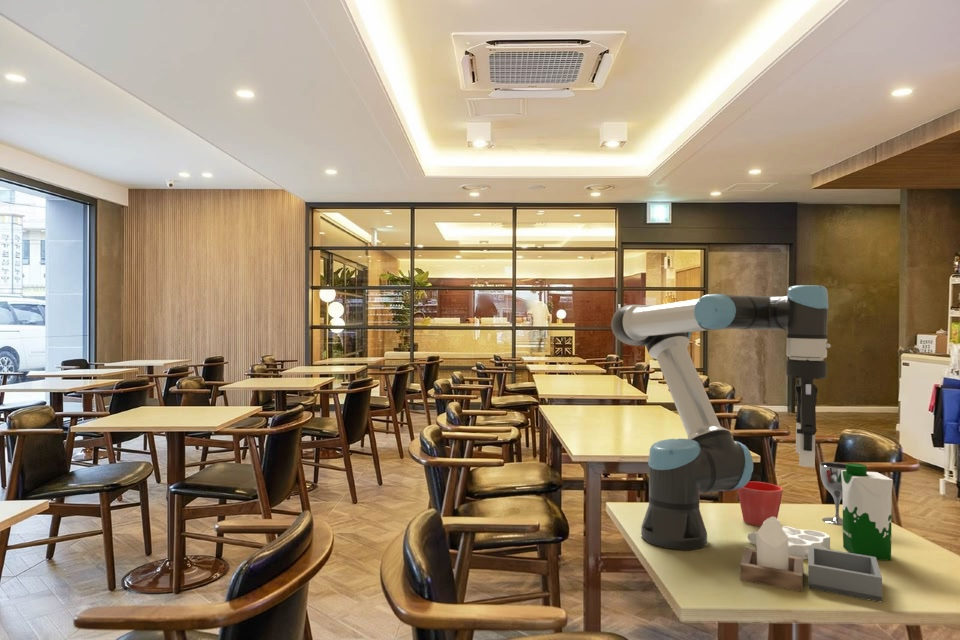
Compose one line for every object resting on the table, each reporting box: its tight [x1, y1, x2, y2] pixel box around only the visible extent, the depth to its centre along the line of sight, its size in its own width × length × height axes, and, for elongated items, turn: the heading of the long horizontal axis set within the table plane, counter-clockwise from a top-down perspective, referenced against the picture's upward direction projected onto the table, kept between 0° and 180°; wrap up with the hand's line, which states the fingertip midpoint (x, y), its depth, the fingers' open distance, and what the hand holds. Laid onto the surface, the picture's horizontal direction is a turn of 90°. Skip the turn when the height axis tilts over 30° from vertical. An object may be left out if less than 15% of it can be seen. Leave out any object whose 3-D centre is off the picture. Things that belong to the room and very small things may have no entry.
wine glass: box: [819, 461, 847, 527], centre depth 158 cm, size 8×8×15 cm
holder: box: [739, 547, 804, 593], centre depth 122 cm, size 11×11×3 cm
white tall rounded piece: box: [755, 516, 789, 571], centre depth 122 cm, size 6×12×6 cm
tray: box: [807, 546, 883, 602], centre depth 118 cm, size 12×12×4 cm
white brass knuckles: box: [747, 525, 831, 560], centre depth 138 cm, size 3×18×15 cm
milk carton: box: [841, 462, 894, 562], centre depth 135 cm, size 9×9×20 cm
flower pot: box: [737, 480, 784, 528], centre depth 156 cm, size 11×11×10 cm
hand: (804, 459), depth 125 cm, fingers open, 13 cm apart
